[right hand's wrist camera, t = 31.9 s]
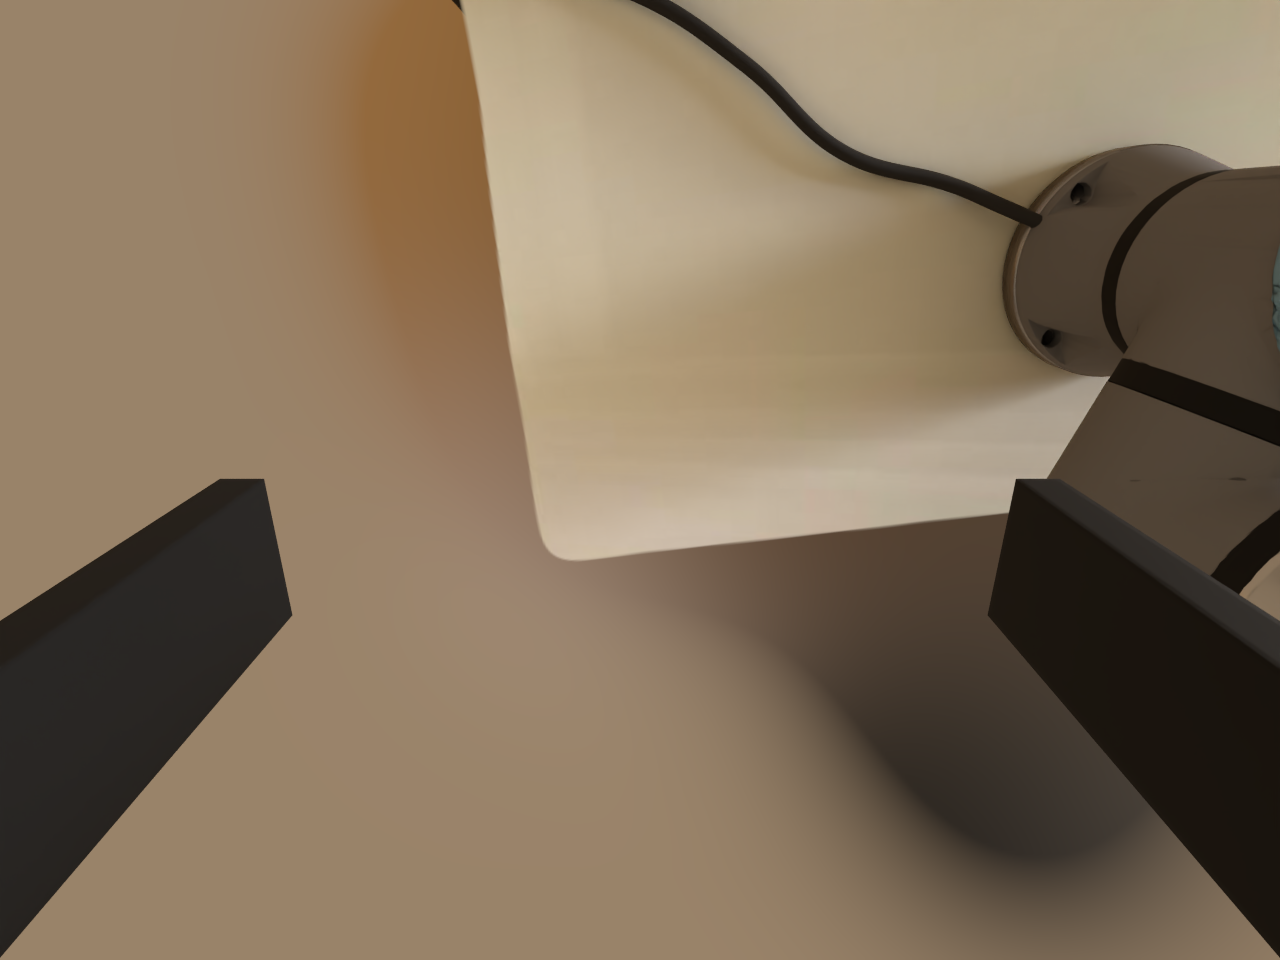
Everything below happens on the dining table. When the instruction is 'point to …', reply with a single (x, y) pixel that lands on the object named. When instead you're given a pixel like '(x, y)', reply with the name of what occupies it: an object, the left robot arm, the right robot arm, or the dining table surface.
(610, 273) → the dining table surface
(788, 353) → the dining table surface
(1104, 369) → the right robot arm
